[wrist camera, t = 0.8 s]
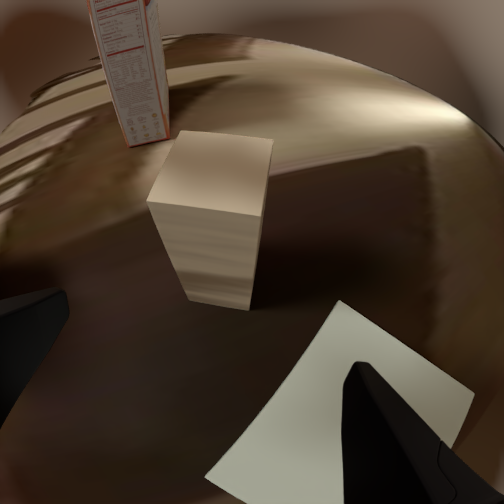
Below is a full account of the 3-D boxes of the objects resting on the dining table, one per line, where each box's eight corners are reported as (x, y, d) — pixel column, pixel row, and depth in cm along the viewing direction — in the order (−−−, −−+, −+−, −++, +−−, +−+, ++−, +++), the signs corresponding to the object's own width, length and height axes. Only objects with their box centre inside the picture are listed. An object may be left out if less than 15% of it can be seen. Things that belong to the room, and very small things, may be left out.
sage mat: (374, 550, 12) (377, 552, 11) (205, 475, 16) (204, 477, 16) (471, 394, 19) (474, 393, 19) (337, 302, 24) (339, 300, 23)
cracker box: (133, 96, 38) (112, -19, 20) (170, 89, 39) (157, -29, 21) (124, 150, 32) (82, -5, 13) (170, 140, 33) (147, -23, 14)
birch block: (248, 310, 23) (260, 216, 12) (189, 300, 23) (146, 201, 12) (257, 256, 25) (273, 139, 14) (202, 247, 26) (180, 130, 14)
